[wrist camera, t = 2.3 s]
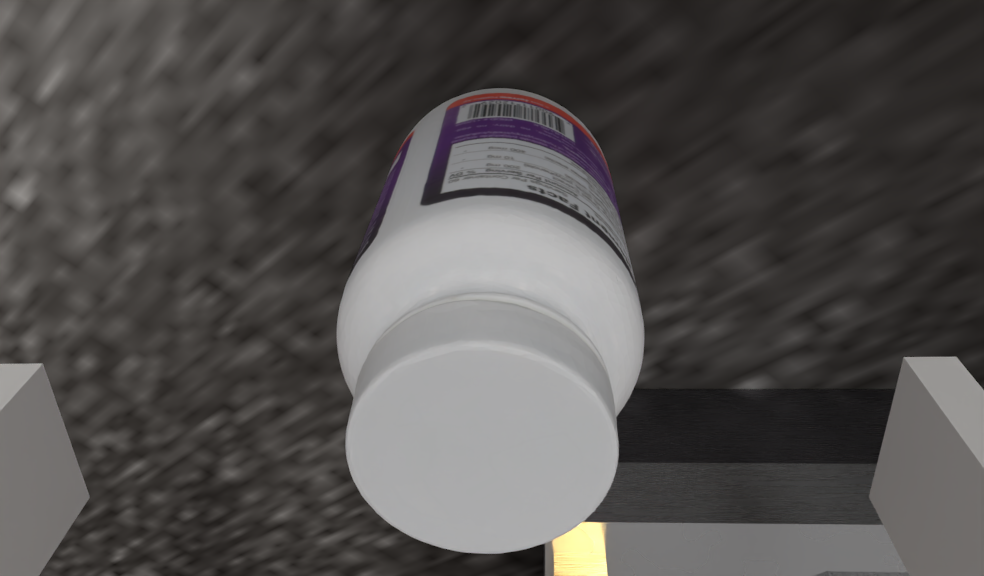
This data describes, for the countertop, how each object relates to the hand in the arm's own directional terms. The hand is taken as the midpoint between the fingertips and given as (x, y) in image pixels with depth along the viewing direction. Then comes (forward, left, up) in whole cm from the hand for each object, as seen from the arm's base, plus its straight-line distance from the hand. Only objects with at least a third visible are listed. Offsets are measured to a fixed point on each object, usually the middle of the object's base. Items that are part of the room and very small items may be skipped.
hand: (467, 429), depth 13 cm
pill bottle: (0, 0, -9) cm, 9 cm away
